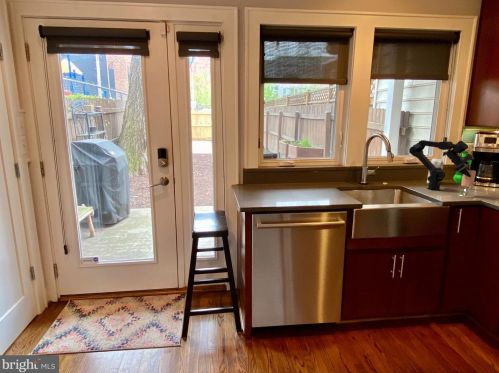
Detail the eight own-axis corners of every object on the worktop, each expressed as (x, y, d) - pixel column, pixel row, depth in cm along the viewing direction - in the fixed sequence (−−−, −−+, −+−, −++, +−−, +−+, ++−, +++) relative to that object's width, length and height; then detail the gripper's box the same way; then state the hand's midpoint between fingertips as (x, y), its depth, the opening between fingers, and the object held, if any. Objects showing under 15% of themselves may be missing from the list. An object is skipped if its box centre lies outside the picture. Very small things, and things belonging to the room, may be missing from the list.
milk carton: (430, 181, 258) (434, 157, 254) (440, 183, 253) (444, 159, 248) (426, 183, 254) (430, 158, 249) (436, 184, 248) (440, 159, 244)
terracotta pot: (465, 186, 212) (468, 171, 210) (459, 184, 219) (461, 169, 216) (475, 186, 213) (478, 171, 211) (468, 184, 219) (470, 169, 217)
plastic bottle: (462, 181, 262) (467, 150, 256) (470, 184, 252) (476, 152, 246) (449, 181, 262) (454, 149, 256) (457, 184, 252) (462, 151, 246)
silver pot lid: (463, 197, 212) (464, 190, 211) (453, 193, 221) (454, 187, 220) (477, 197, 213) (478, 190, 212) (466, 193, 222) (468, 187, 221)
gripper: (464, 150, 206) (481, 170, 201) (468, 148, 220) (485, 167, 215) (447, 161, 213) (464, 181, 208) (452, 158, 226) (468, 176, 222)
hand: (471, 176), depth 213 cm, fingers closed on terracotta pot, 6 cm apart
